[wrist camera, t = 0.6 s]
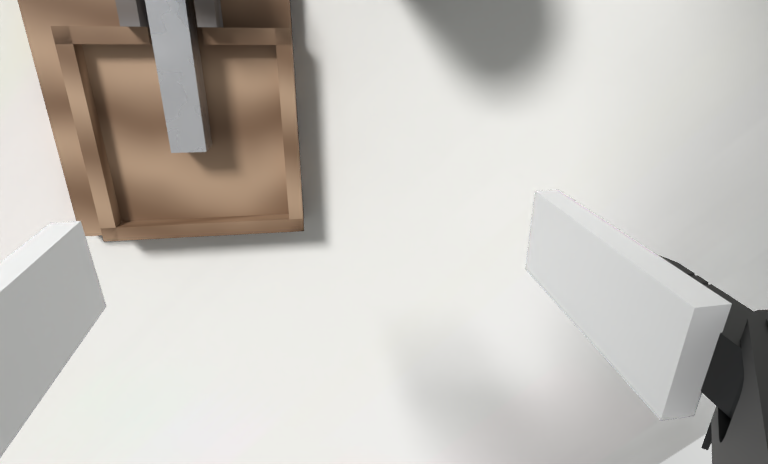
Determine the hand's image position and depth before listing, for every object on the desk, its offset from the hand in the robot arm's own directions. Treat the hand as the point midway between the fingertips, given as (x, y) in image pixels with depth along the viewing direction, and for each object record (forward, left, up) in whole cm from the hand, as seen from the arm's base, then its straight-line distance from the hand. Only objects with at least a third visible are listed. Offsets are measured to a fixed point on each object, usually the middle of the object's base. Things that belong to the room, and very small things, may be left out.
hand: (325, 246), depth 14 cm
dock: (-1, -9, -23) cm, 25 cm away
